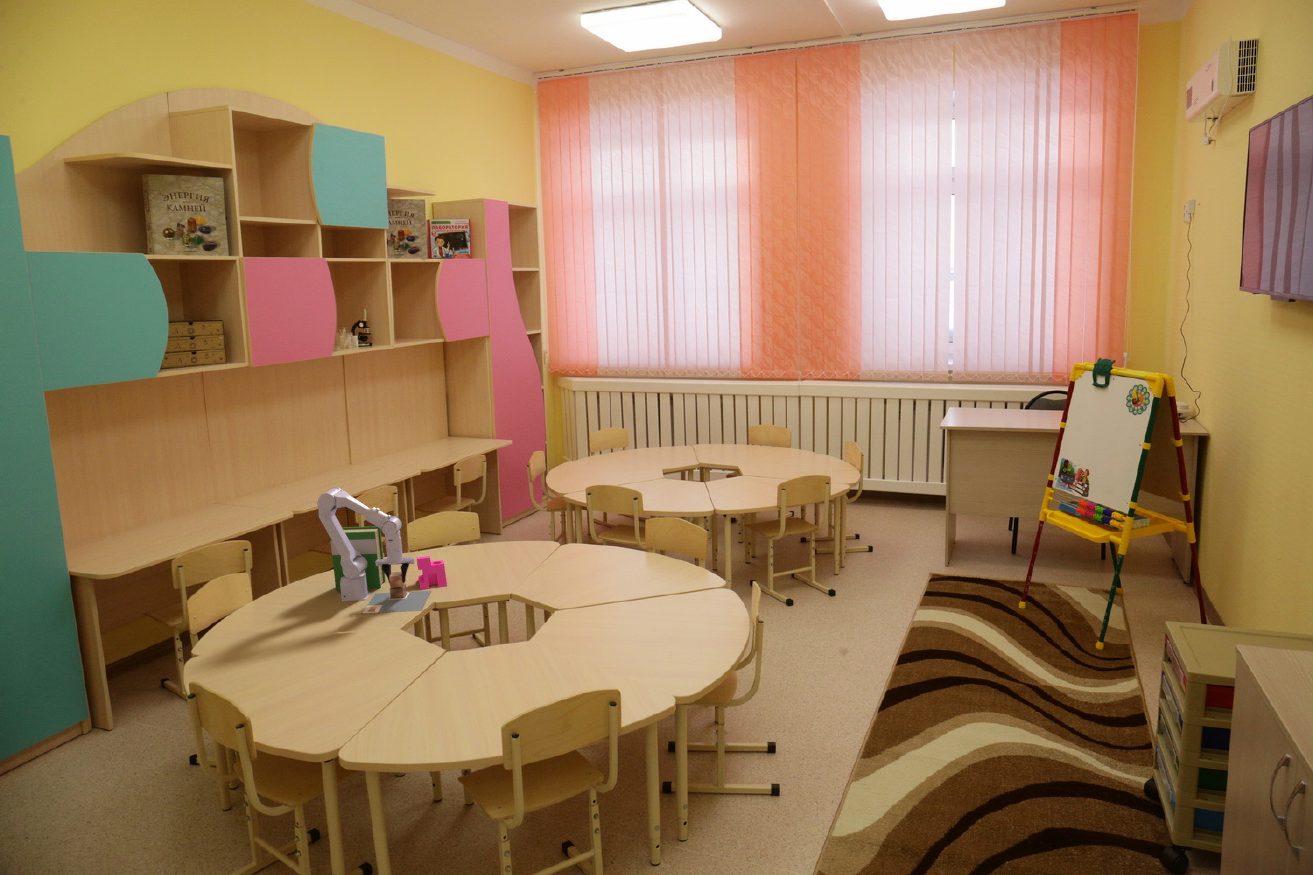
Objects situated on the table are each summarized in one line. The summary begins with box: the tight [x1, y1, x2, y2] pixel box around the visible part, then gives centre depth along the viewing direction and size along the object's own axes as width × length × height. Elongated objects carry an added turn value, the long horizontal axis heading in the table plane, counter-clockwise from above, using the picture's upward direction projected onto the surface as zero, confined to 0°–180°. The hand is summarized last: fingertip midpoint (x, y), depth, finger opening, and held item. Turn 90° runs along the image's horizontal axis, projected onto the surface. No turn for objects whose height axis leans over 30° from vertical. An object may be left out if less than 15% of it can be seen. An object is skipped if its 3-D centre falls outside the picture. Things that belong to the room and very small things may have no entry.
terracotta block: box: [389, 571, 405, 589], centre depth 344 cm, size 4×4×4 cm
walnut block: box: [389, 583, 408, 599], centre depth 345 cm, size 5×5×4 cm
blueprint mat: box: [361, 590, 432, 615], centre depth 339 cm, size 22×20×1 cm
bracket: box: [416, 555, 448, 591], centre depth 357 cm, size 12×10×10 cm
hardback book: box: [329, 525, 387, 592], centre depth 356 cm, size 18×7×24 cm, turn 90°
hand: (397, 582), depth 344 cm, fingers closed on terracotta block, 4 cm apart
